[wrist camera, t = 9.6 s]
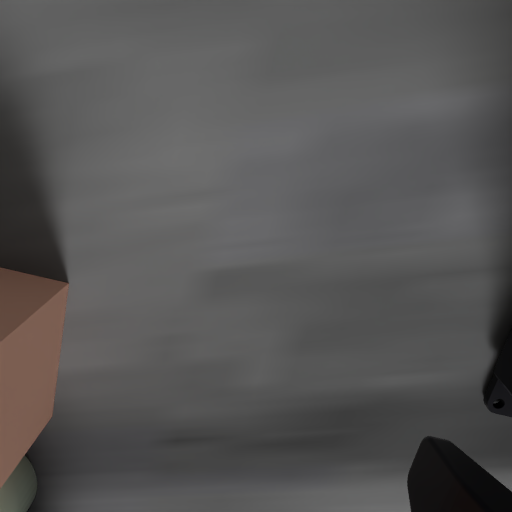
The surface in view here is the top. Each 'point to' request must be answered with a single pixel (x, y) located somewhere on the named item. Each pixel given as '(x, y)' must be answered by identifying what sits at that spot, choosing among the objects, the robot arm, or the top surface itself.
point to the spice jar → (19, 488)
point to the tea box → (27, 360)
